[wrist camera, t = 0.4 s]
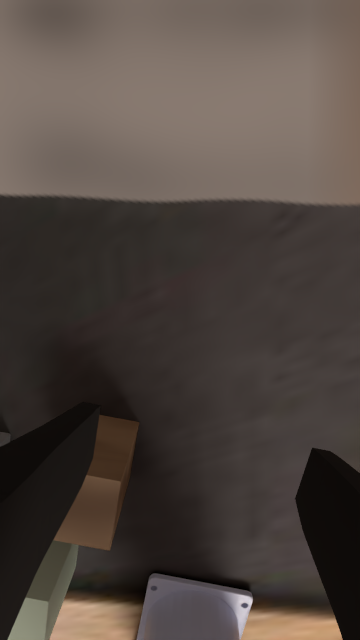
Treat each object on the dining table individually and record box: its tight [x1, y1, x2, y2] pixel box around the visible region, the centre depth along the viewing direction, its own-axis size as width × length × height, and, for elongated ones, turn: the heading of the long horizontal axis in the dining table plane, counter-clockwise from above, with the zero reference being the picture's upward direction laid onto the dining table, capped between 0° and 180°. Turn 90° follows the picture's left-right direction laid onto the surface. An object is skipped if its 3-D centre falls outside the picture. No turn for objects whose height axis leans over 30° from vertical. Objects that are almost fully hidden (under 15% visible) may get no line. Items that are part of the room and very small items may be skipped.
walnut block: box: [54, 415, 139, 551], centre depth 19 cm, size 4×4×6 cm
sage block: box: [8, 540, 79, 640], centre depth 21 cm, size 4×4×6 cm
